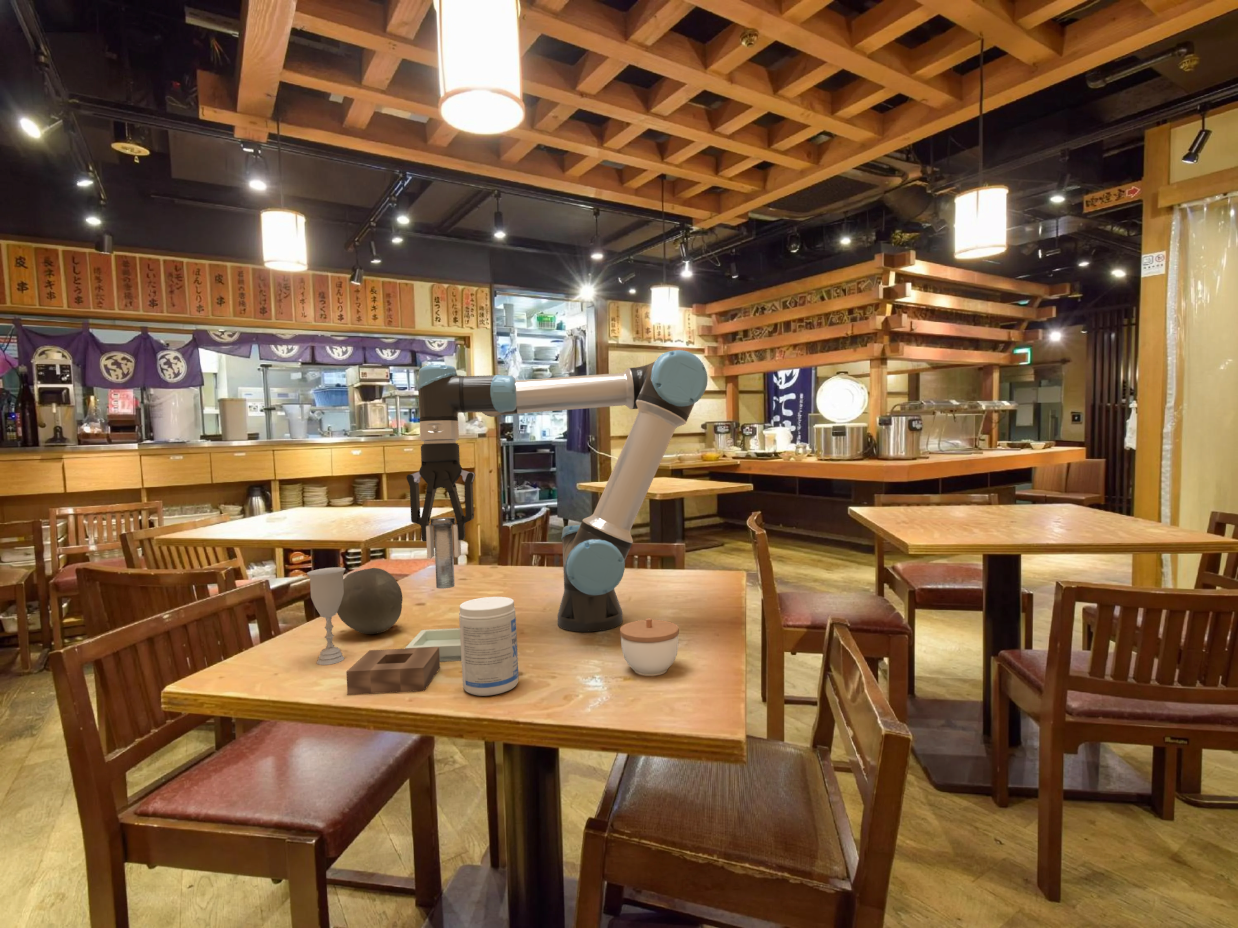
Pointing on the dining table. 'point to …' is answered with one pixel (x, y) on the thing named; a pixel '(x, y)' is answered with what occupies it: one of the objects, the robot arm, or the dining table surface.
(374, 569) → the dark grey ball
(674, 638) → the lidded jar
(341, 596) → the chalice
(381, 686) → the block
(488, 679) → the supplement tub
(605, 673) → the dining table surface
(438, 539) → the metal pin
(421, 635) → the tray
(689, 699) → the dining table surface
